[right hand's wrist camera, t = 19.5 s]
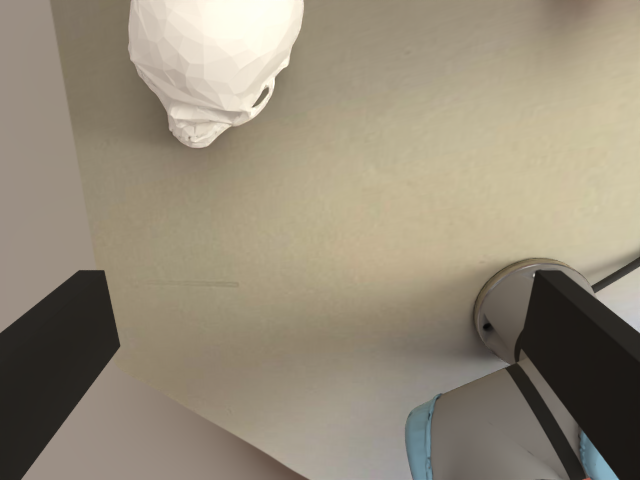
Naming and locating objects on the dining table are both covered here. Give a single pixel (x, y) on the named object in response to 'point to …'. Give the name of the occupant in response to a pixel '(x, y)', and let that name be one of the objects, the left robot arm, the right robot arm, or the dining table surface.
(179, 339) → the dining table surface
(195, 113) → the skull
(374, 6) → the dining table surface
